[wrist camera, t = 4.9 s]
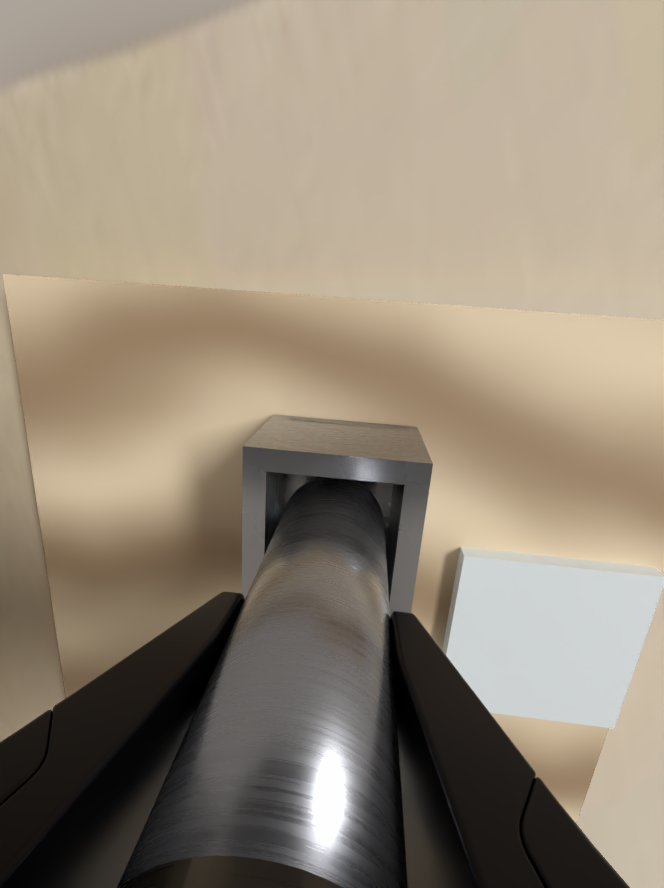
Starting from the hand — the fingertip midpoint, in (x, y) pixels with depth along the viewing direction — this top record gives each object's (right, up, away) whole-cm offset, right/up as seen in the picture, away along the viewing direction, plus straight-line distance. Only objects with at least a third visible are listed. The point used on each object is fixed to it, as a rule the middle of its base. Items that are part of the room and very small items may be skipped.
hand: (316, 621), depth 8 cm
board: (0, -1, +9) cm, 9 cm away
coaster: (+8, -3, +7) cm, 11 cm away
